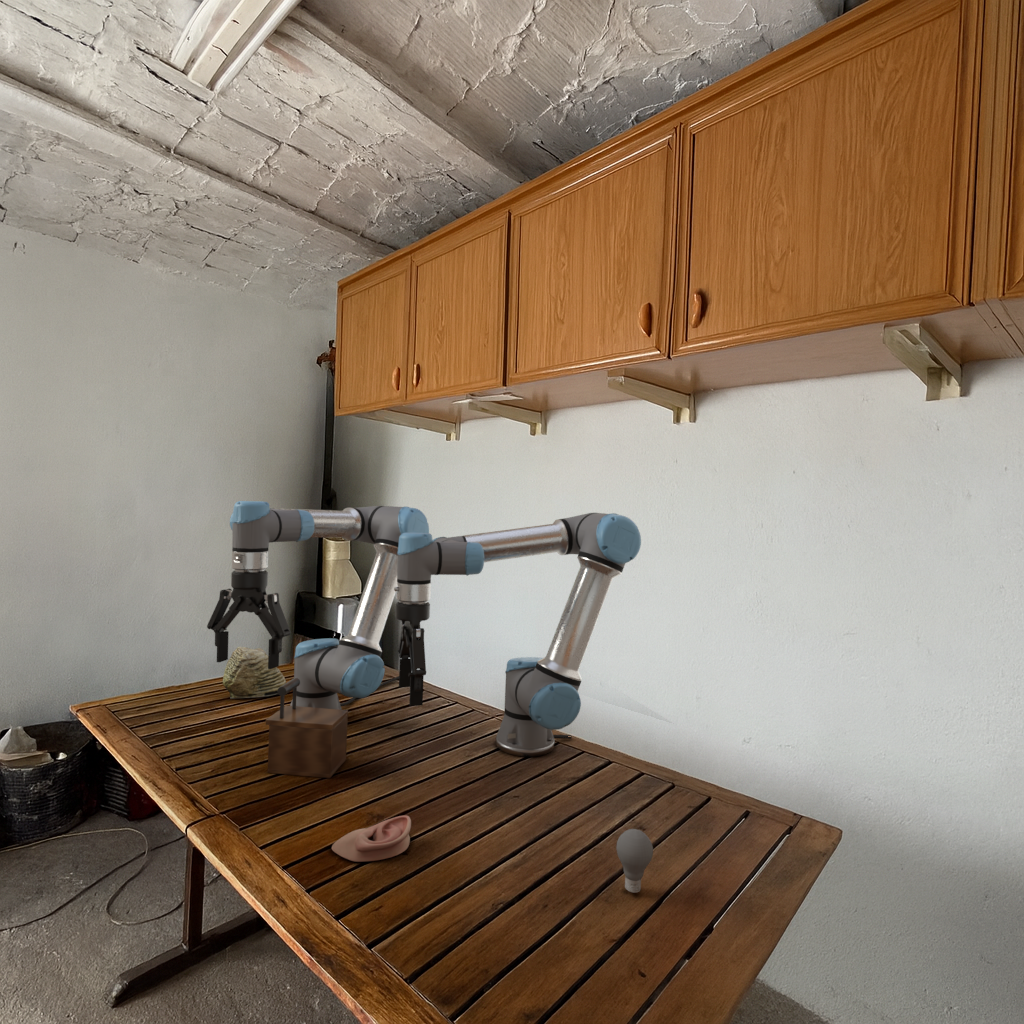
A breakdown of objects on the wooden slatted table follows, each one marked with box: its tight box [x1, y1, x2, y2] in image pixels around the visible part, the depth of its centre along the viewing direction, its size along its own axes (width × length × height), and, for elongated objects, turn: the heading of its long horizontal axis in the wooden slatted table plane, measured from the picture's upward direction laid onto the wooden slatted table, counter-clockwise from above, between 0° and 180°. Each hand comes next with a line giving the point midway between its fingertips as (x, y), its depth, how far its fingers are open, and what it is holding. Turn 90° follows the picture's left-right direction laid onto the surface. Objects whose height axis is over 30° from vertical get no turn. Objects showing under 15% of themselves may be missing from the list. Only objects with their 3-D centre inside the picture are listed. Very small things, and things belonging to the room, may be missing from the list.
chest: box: [267, 714, 349, 779], centre depth 148 cm, size 15×10×11 cm
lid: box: [265, 677, 349, 730], centre depth 148 cm, size 16×10×8 cm, turn 85°
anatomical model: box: [331, 814, 412, 863], centre depth 116 cm, size 13×4×12 cm
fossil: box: [222, 646, 287, 699], centre depth 198 cm, size 9×18×15 cm, turn 132°
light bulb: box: [615, 828, 654, 894], centre depth 106 cm, size 6×6×10 cm
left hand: (247, 664), depth 142 cm, fingers open, 13 cm apart
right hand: (410, 695), depth 142 cm, fingers open, 13 cm apart
